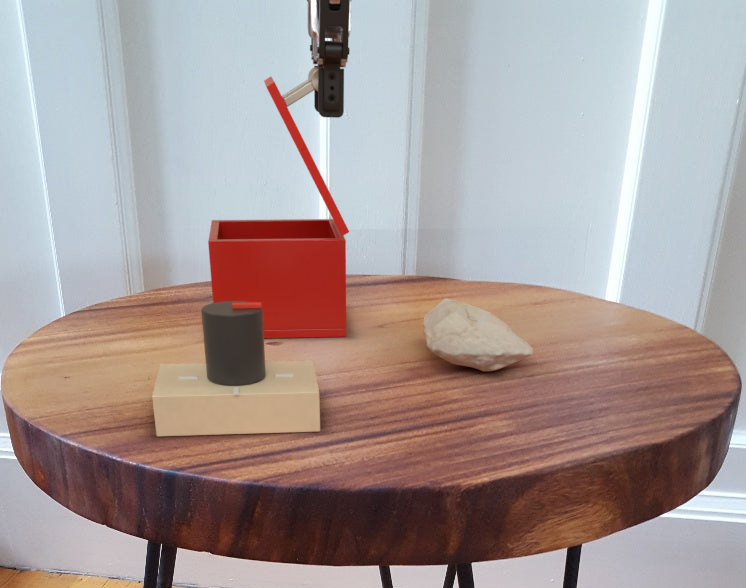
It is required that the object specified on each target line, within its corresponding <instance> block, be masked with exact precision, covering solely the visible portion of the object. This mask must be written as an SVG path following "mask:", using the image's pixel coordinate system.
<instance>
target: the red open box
mask: <svg viewBox="0 0 746 588" xmlns="http://www.w3.org/2000/svg"><path fill="white" fill-rule="evenodd" d="M207 243H208V256H209V257H208V258H209V267H210V268H209V269H210V282H211V293H212V303H216V302H224V301H244V302H251V303H253V302H261V306H262V314H263V332H264V339H298V338H301V339H302V338H339V337H340V338H341V337H342V338H343V337H344V338H345V337H347V260H346V259H347V251H346V250H347V240H346V238H345V235H343V236H341V234H340V232H339V230H338V228H337V226H336V224H335V222H334V220H333V218H319V219H318V218H316V219H315V218H307V219H306V218H301V219H300V218H299V219H296V218H293V219H212V220H211V223H210V229H209V235H208V241H207Z"/></svg>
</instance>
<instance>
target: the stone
mask: <svg viewBox="0 0 746 588" xmlns="http://www.w3.org/2000/svg"><path fill="white" fill-rule="evenodd" d="M423 328H424V331H423V333H424V334H425V341H426V348H428V349H429V351H430V352H431V353H432V354H434V355H435V356H437V357H439V358H440V359H442V360H444V361H445V362H447V363H448V362H449V363H450V364H453V365H456V366H463V367H469V368H472V369H476V370H479V371H481V372H493V371H497V370H500V369H503V368H505V367H508V366H511V365H513V364H516V363H518V362H521V361H523V360H525V359H526V358H528V357H531V356H533V354H534V348H533V347H532V346H531V345H530V344H529V343H528V342H527V341H526V340H525V339H523V338H522V337H520V336H518V335H517V334H516V333H515V332H514V330H512V329H511V327H510V326H509V325H508V324H507V323H505V322H504V321H502V319H499V318H498V317H497V316H496V315H494V314H493V313H492V312H490V311H488V310H487V309H483V308H481V307H478V306H475V305H473V304H468V303H465V302H462V301H460V300H457V299H453V298H450V297H447V298H444V299H442V300H441V301H440V302H439V303H437V304H436V305H435V306H434V307H433V308H432V309H430V310H429V311H427V312H426V314H425V315H424V317H423Z"/></svg>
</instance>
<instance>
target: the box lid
mask: <svg viewBox="0 0 746 588" xmlns="http://www.w3.org/2000/svg"><path fill="white" fill-rule="evenodd" d="M318 68H321V67H314V66H313V67H312V68H311V69H309V70H310V71H309V72H308V73H307V75H308V76H307V79H306V80H305V81H303V82H301V83H300V84H298V85H297V86H295V87H294V88H292V89H290V90H289V91H287V92H286V93H284V94H281V92H280V90H279V88H278V86H277V83H276V82H275V80H274V78H273V77H272V76H269V77H268V78H266V79H265V80H263V82H264V85H265V87H266V89H267V91H268V93H269V95H270V98H271V99H272V101H273V103H274V105H275V107H276V109H277V111H278V113H279V115H280V117H281V120H282V121H283V123H284V125H285V127H286V129H287V131H288V133H289V135H290V137H291V139H292V141H293V142H294V145H295V147H296V148H297V151H298V153H299V154H300V157H301V158H302V160H303V163H304V164H305V166H306V168H307V170H308V173H309V175H310V176H311V178H312V180H313V182H314V185H315V186H316V189H317V190H318V192H319V194H320V196H321V198H322V200H323V202H324V204H325V206H326V208H327V210H328V212H329V214H330V216H331V219H333V220H334V222H335V224H336V226H337V228H338V230H339V232H340V234H341V236H345V235H347V234H348V233H350V230H349V228H348V226H347V224H346V222H345V220H344V218H343V216H342V214H341V212H340V210H339V208H338V206H337V203H336V202H335V200H334V198H333V196H332V195H331V192H330V190H329V188H328V186H327V184H326V182H325V180H324V178H323V176H322V174H321V172H320V169H319V168H318V165H316V162H315V160H314V158H313V156H312V154H311V152H310V150H309V148H308V146H307V144H306V142H305V140H304V138H303V136H302V134H301V132H300V130H299V128H298V126H297V123H296V122H295V120H294V118H293V115H292V114H291V112H290V110H289V108H288V107H290V106H292V105H293V104H295V103H296V102H298V101H300V100H301V99H302V98H305V96H308V95H309V94H310V93H312V92H314V90H316V91H318Z"/></svg>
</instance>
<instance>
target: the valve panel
mask: <svg viewBox="0 0 746 588" xmlns="http://www.w3.org/2000/svg"><path fill="white" fill-rule="evenodd" d="M265 370H266V376H265V378H264V379H263V380H261V381H259V382H256V383H252V384H247V385H222V384H217V383H213V382H211V381H209V380H208V378H207V370H206V362H197V363H196V362H194V363H160V364H159V367H158V371H157V374H156V375H157V376H156V379H155V383H154V387H153V391H152V396H151V400H152V409H153V416H154V424H155V425H154V426H155V435H156V437H186V436H188V437H189V436H190V437H191V436H220V435H249V434H250V435H251V434H252V435H253V434H254V435H255V434H283V433H314V432H317V433H318V432H321V406H320V402H321V401H320V388H319V384H318V378H317V375H316V374H317V373H316V370H315V365H314V360H277V361H275V360H274V361H273V360H272V361H265Z"/></svg>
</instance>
